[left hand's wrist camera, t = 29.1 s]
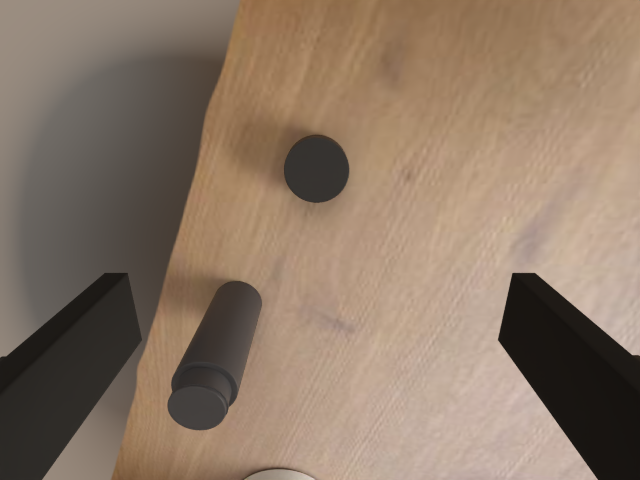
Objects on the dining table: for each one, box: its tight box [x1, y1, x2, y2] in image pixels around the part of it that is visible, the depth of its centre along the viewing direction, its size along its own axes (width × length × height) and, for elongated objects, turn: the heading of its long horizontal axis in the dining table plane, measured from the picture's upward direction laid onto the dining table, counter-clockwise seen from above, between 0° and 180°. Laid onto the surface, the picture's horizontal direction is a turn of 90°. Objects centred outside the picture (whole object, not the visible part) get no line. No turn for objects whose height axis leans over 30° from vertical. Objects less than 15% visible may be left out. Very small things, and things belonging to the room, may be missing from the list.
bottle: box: [168, 281, 262, 430], centre depth 36 cm, size 6×6×16 cm
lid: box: [284, 135, 349, 203], centre depth 36 cm, size 6×6×2 cm
